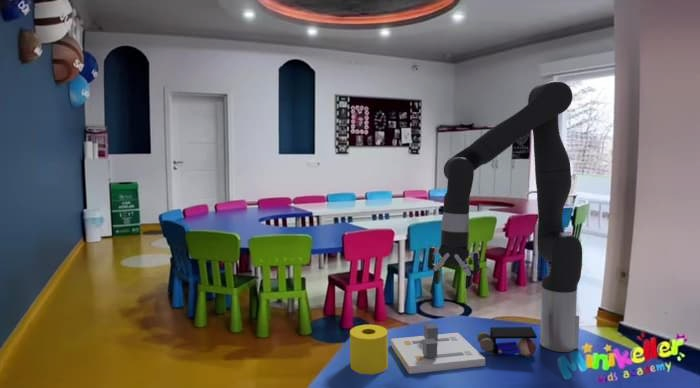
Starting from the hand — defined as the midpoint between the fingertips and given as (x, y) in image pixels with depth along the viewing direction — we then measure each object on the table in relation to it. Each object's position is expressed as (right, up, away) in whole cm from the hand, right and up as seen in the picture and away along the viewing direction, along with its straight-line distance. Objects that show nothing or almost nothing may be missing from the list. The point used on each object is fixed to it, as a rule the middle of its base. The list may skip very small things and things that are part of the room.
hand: (452, 285), depth 134 cm
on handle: (-7, -17, -6) cm, 20 cm away
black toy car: (+15, -19, -1) cm, 25 cm away
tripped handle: (-5, -16, +4) cm, 18 cm away
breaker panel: (-5, -19, -1) cm, 20 cm away
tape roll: (-24, -20, -6) cm, 32 cm away
